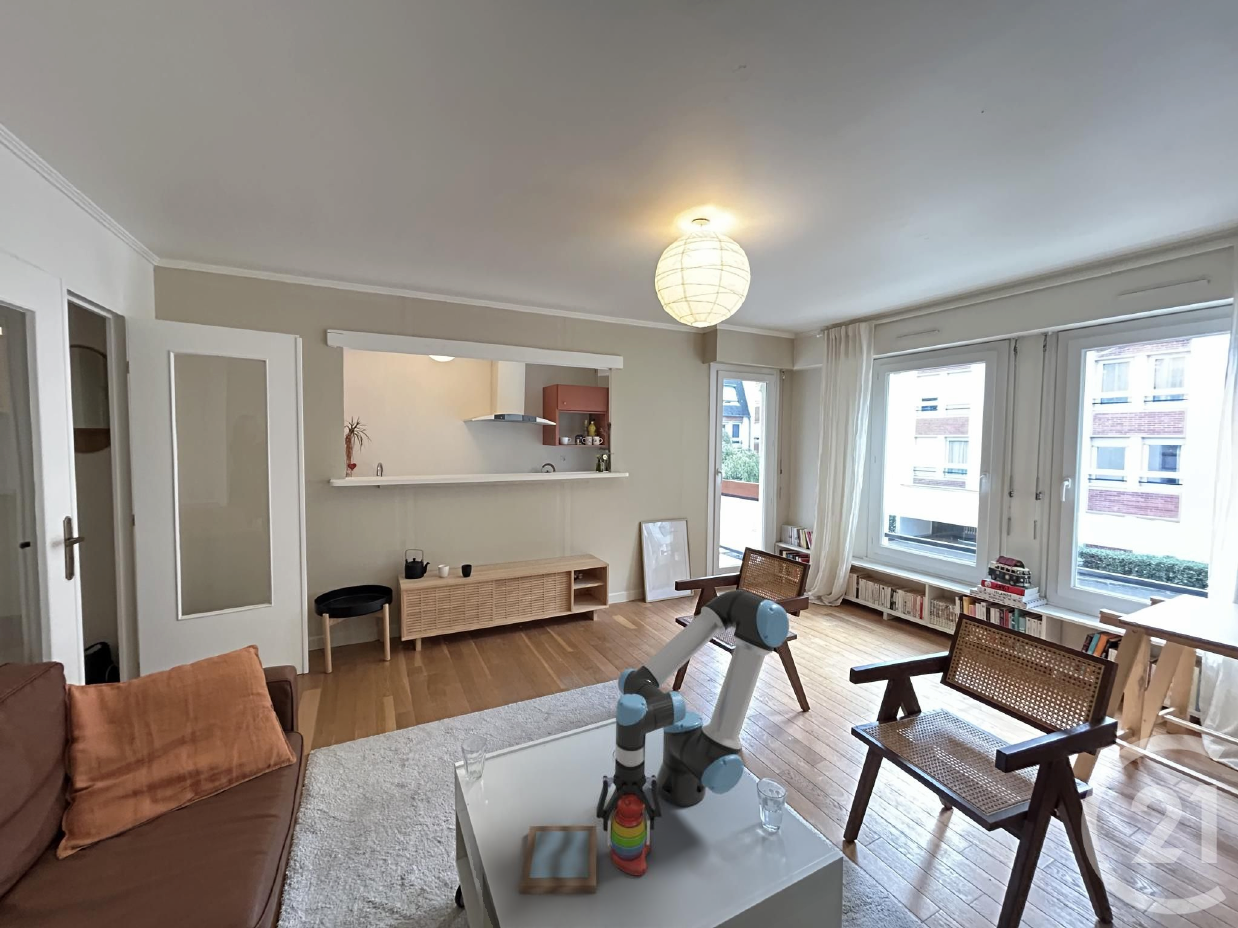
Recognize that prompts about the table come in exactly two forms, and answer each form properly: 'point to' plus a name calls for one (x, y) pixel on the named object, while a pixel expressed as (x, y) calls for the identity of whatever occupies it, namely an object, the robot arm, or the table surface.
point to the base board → (560, 860)
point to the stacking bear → (629, 836)
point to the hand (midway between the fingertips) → (628, 840)
